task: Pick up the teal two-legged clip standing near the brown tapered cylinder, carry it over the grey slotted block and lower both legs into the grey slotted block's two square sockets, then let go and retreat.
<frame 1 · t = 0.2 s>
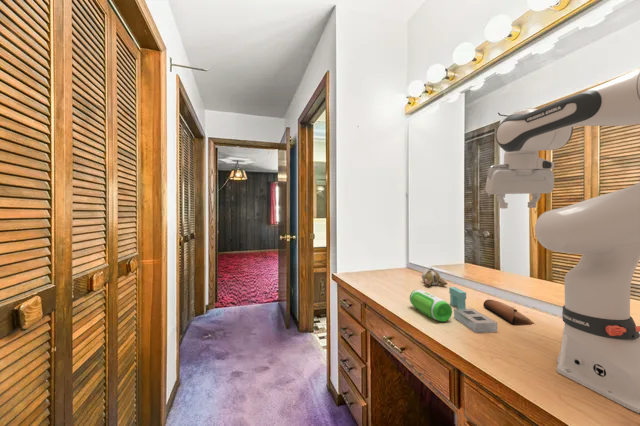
hand: (517, 208, 91), 39 cm above the counter, fingers open, 8 cm apart
brown tapered cylinder: (507, 317, 103), on the counter
speaker: (429, 315, 106), on the counter
clip: (457, 307, 112), on the counter
ceramic sculpture: (432, 285, 148), on the counter
grey slotted block: (474, 324, 96), on the counter
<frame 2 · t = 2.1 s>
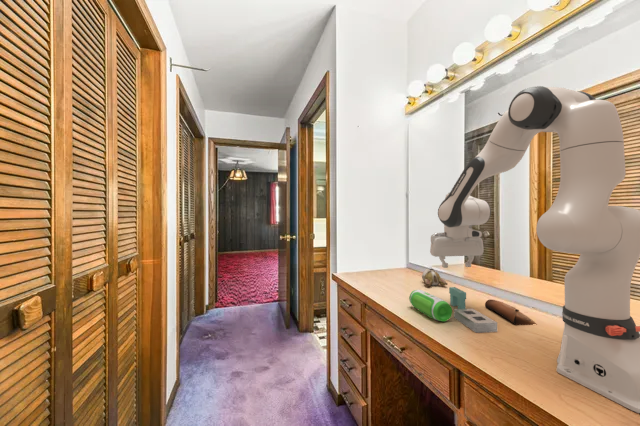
hand: (456, 267, 113), 16 cm above the counter, fingers open, 8 cm apart
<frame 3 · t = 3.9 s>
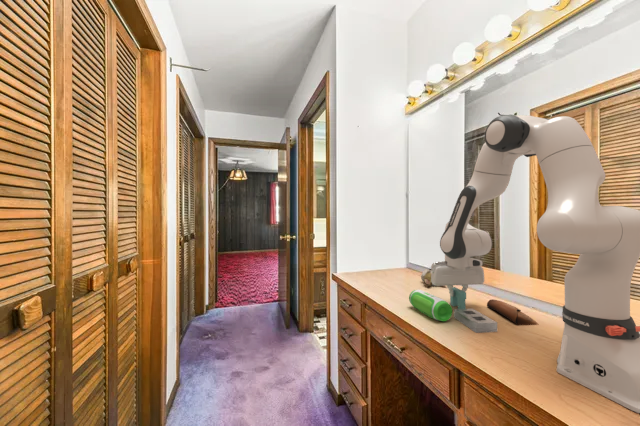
hand: (457, 295, 112), 5 cm above the counter, fingers closed on clip, 2 cm apart
clip: (457, 307, 112), on the counter, touching gripper
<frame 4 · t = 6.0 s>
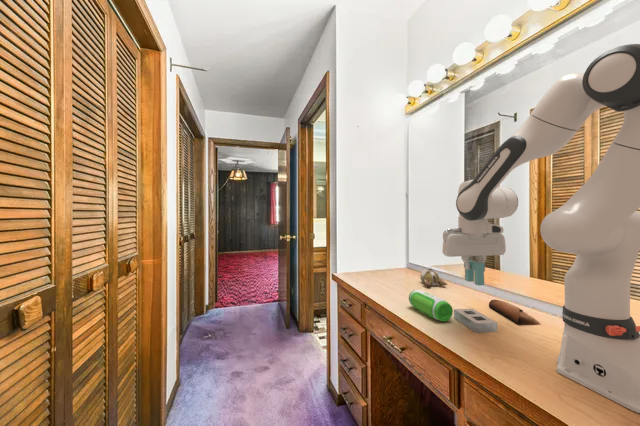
hand: (474, 269, 96), 19 cm above the counter, fingers closed on clip, 2 cm apart
clip: (474, 282, 96), point 14 cm above the counter, touching gripper
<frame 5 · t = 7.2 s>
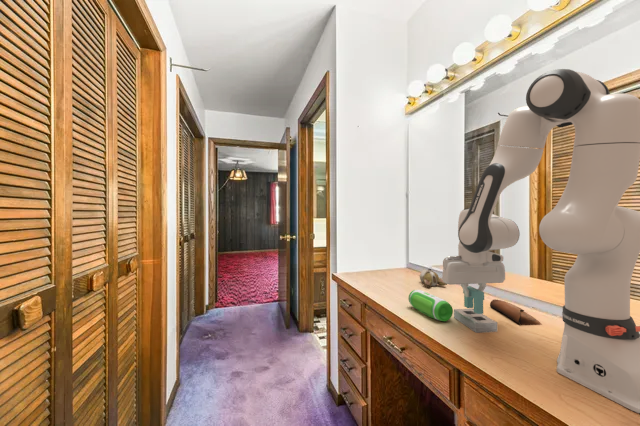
hand: (473, 296, 96), 9 cm above the counter, fingers closed on clip, 2 cm apart
clip: (473, 309, 96), point 5 cm above the counter, touching gripper
when the fingers open (6 cm above the counter, at t = 8.2 s): clip drops 1 cm, on the counter.
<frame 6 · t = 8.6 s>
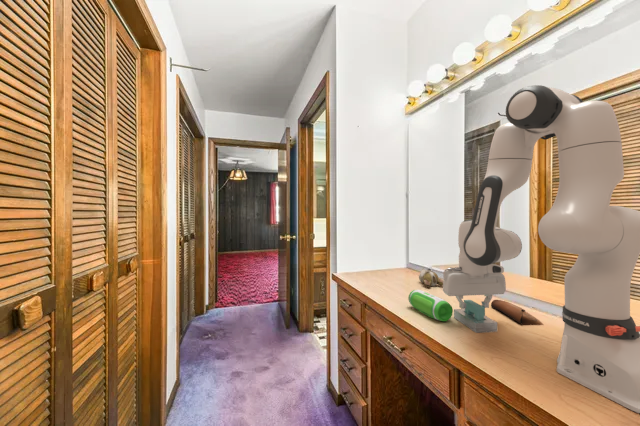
hand: (474, 307, 96), 6 cm above the counter, fingers open, 6 cm apart
clip: (474, 324, 96), on the counter
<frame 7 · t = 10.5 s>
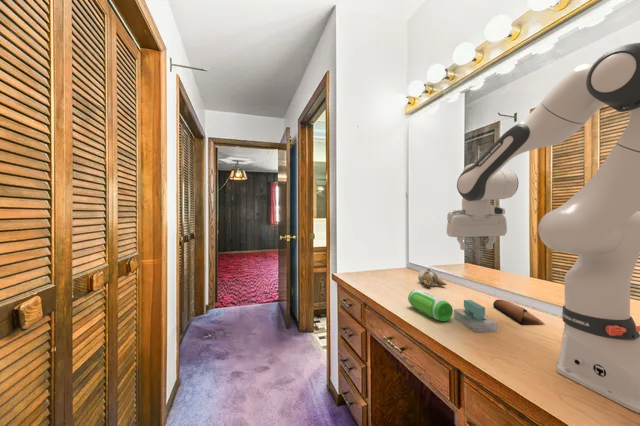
hand: (476, 249, 100), 25 cm above the counter, fingers open, 8 cm apart
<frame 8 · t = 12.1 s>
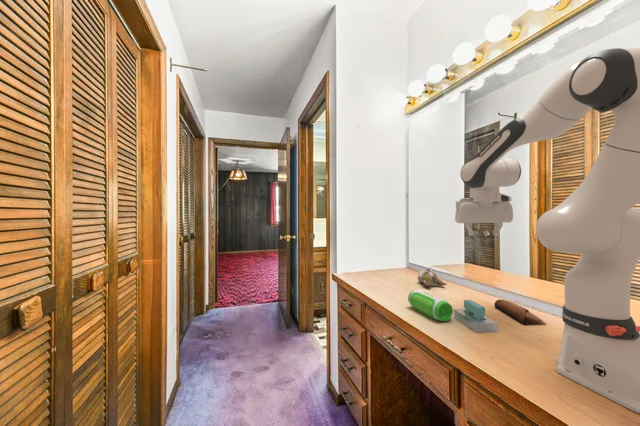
hand: (483, 235, 105), 29 cm above the counter, fingers open, 8 cm apart
at the end: clip 0.0 cm off-centre on the grey slotted block, point 0.0 cm above the grey slotted block's base; clip tilted 0°; the gripper is holding nothing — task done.
